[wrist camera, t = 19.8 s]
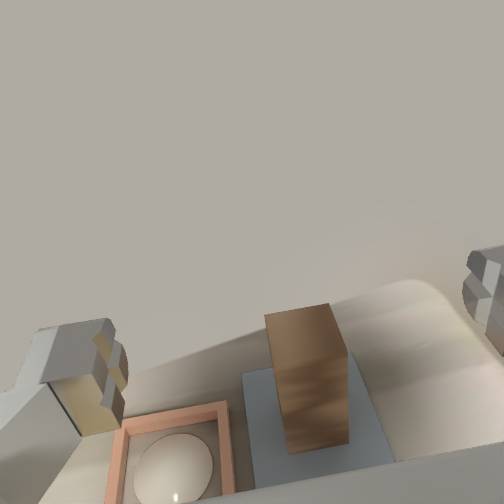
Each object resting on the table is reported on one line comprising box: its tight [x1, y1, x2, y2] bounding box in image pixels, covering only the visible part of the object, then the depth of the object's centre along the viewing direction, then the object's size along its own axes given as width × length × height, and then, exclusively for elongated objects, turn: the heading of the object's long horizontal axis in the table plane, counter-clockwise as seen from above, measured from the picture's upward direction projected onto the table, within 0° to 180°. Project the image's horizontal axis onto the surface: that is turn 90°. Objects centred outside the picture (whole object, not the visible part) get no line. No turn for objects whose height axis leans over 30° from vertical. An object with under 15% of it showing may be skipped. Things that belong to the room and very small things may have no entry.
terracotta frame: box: [104, 400, 236, 504], centre depth 33 cm, size 9×9×1 cm
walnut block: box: [265, 303, 349, 455], centre depth 32 cm, size 4×4×10 cm
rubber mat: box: [241, 353, 396, 489], centre depth 35 cm, size 10×12×1 cm
